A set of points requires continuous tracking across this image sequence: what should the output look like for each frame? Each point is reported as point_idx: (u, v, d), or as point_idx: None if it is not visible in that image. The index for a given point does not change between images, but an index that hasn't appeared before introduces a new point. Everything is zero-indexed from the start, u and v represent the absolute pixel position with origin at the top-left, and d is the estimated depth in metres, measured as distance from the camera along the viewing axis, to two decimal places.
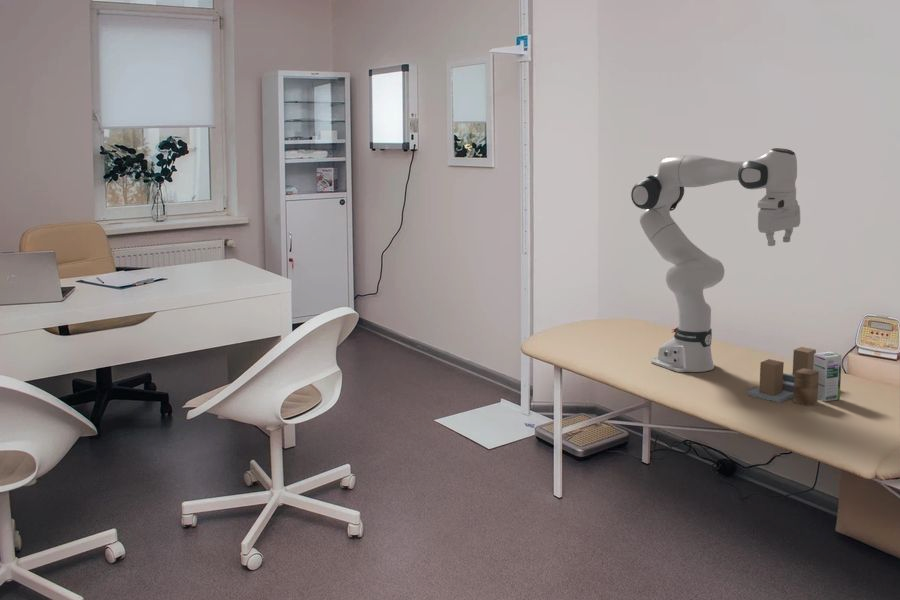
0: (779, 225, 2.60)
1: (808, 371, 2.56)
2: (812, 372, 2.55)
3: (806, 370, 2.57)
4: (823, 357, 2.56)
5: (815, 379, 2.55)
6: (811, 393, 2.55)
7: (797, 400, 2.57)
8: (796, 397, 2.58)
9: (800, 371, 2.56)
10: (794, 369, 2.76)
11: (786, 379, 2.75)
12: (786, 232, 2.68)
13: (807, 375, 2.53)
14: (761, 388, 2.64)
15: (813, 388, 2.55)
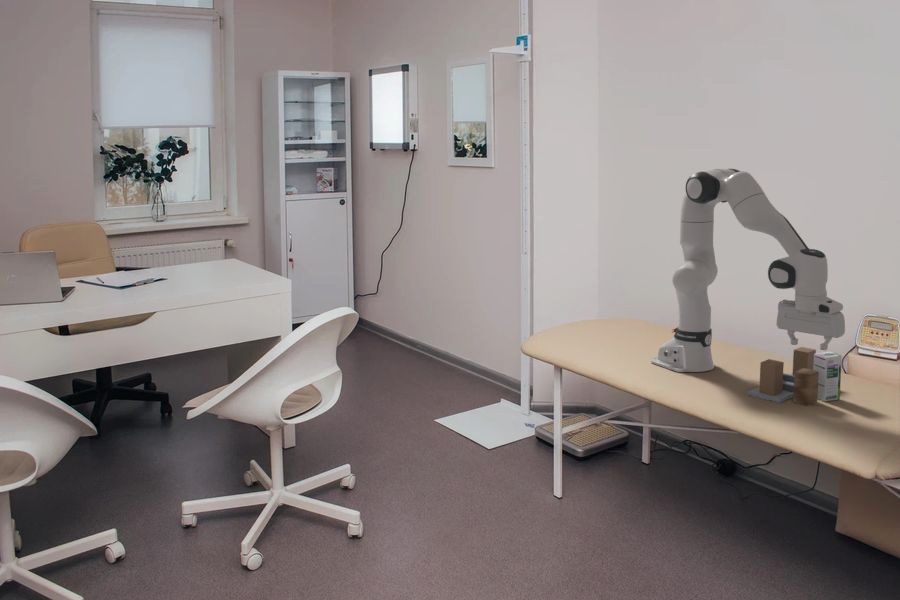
0: None
1: (808, 371, 2.56)
2: (812, 372, 2.55)
3: (806, 370, 2.57)
4: (823, 357, 2.56)
5: (815, 379, 2.55)
6: (811, 393, 2.55)
7: (797, 400, 2.57)
8: (796, 397, 2.58)
9: (800, 372, 2.56)
10: (794, 369, 2.76)
11: (786, 379, 2.75)
12: (791, 335, 2.58)
13: (807, 375, 2.53)
14: (761, 388, 2.64)
15: (813, 388, 2.55)
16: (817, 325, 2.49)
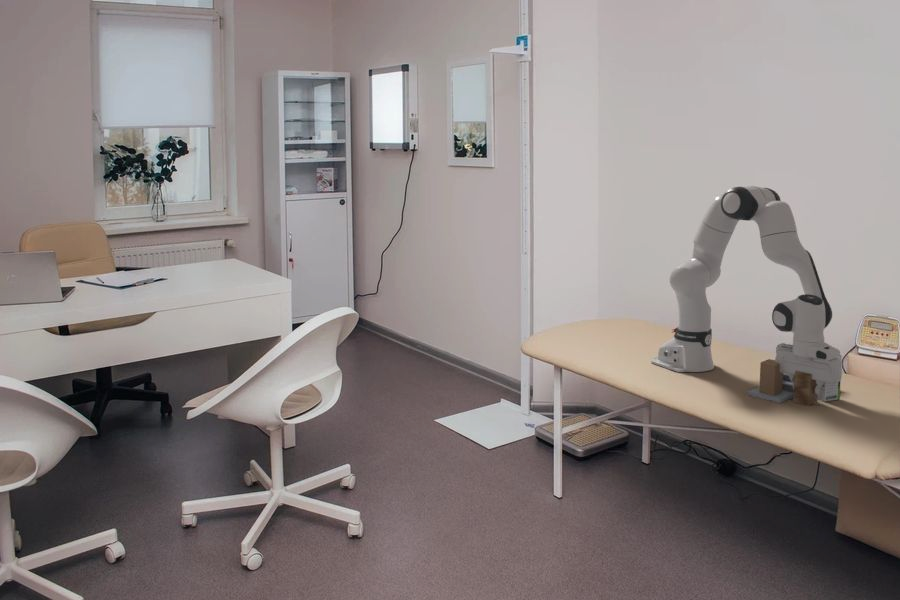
0: None
1: None
2: None
3: None
4: None
5: None
6: (811, 393, 2.55)
7: (797, 400, 2.57)
8: (796, 397, 2.58)
9: None
10: None
11: (786, 379, 2.75)
12: (793, 379, 2.60)
13: (807, 375, 2.53)
14: (761, 388, 2.64)
15: None
16: (815, 370, 2.52)
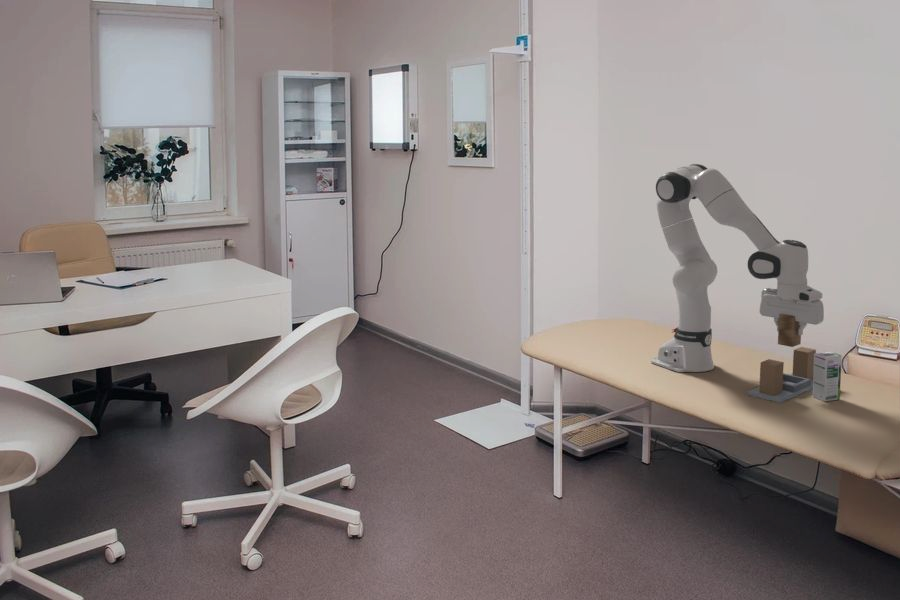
0: None
1: None
2: None
3: None
4: (823, 357, 2.56)
5: None
6: (795, 335, 2.65)
7: (781, 342, 2.67)
8: (780, 339, 2.67)
9: None
10: (794, 369, 2.76)
11: (786, 379, 2.75)
12: (777, 322, 2.69)
13: (791, 317, 2.63)
14: (761, 388, 2.64)
15: None
16: (798, 312, 2.62)
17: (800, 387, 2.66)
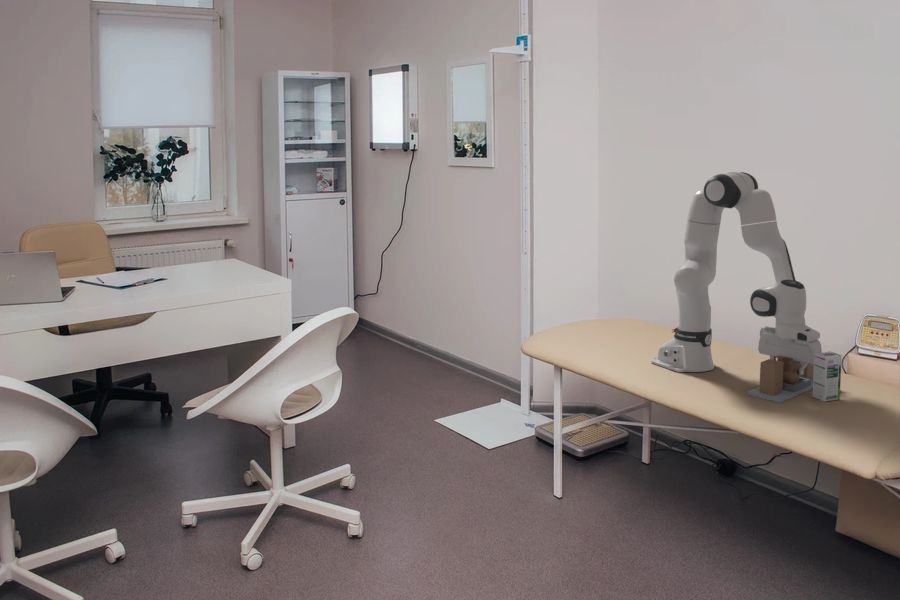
0: None
1: None
2: None
3: None
4: (823, 357, 2.56)
5: (796, 363, 2.68)
6: (793, 377, 2.68)
7: None
8: None
9: (782, 356, 2.69)
10: None
11: None
12: None
13: (789, 359, 2.66)
14: (761, 388, 2.64)
15: (795, 371, 2.68)
16: (796, 352, 2.65)
17: (800, 387, 2.66)
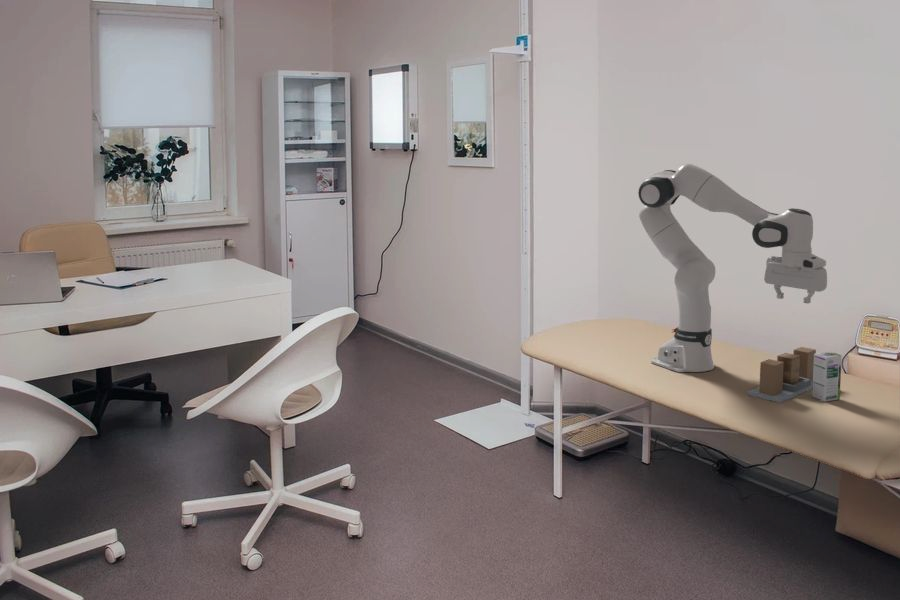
0: None
1: (790, 356, 2.68)
2: (794, 356, 2.68)
3: (788, 354, 2.70)
4: (823, 357, 2.56)
5: (796, 363, 2.68)
6: (793, 377, 2.68)
7: None
8: None
9: (782, 356, 2.69)
10: None
11: None
12: (777, 289, 2.75)
13: (789, 359, 2.66)
14: (761, 388, 2.64)
15: (795, 371, 2.68)
16: (802, 280, 2.67)
17: (800, 387, 2.66)
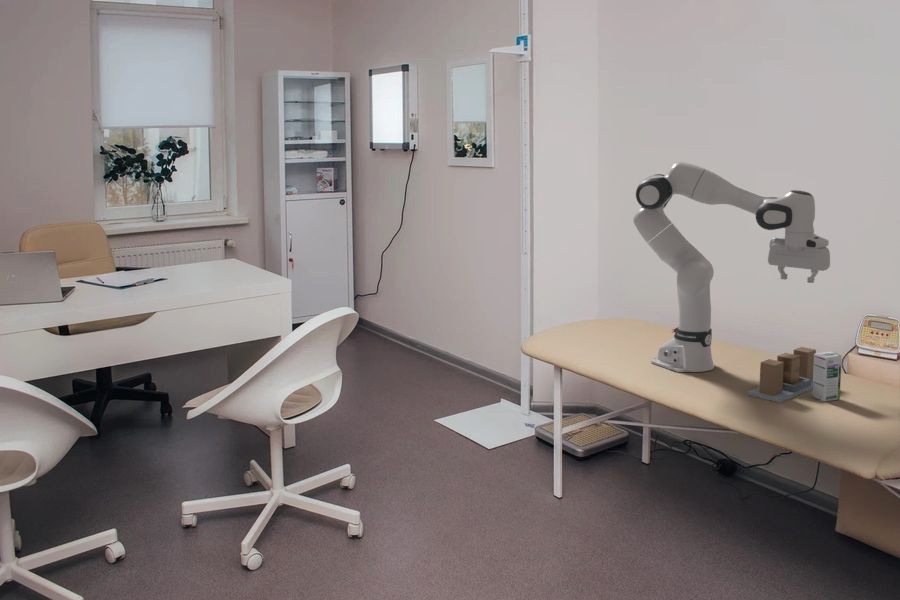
0: None
1: (790, 356, 2.68)
2: (794, 356, 2.68)
3: (788, 354, 2.70)
4: (823, 357, 2.56)
5: (796, 363, 2.68)
6: (793, 377, 2.68)
7: None
8: None
9: (782, 356, 2.69)
10: None
11: None
12: (781, 270, 2.80)
13: (789, 359, 2.66)
14: (761, 388, 2.64)
15: (795, 371, 2.68)
16: (805, 260, 2.72)
17: (800, 387, 2.66)
